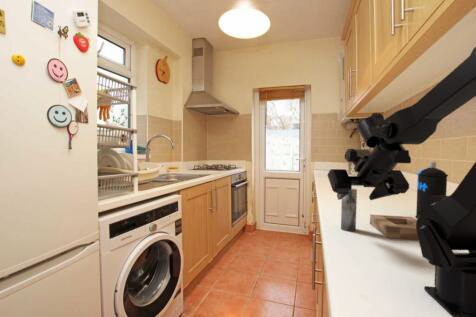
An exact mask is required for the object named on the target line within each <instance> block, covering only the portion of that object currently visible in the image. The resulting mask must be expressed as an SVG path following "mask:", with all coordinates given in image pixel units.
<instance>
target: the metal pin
mask: <svg viewBox="0 0 476 317" xmlns="http://www.w3.org/2000/svg"><path fill="white" fill-rule="evenodd" d="M357 194H358V189H357V188H352V189H351V190H350V191H349V194H348V195H346V196H345V197H343V198H342V199H341V208H340V209H341V210H340V211H341V212H340V216H341V217H340V229H341V230H342V231H345V232H350V233H351V232H352V233H353V232H356V230H357V202H358V199H357V198H358V195H357Z"/></svg>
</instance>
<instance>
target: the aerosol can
mask: <svg viewBox="0 0 476 317" xmlns="http://www.w3.org/2000/svg"><path fill="white" fill-rule="evenodd" d="M416 175H417V184H416V185H417V186H416V187H417V188H416V211H415V213H416V214H415V217H414V218H415V219H418V217H419V216H420V215H419V214H417V212H418V211H420V210H421V209H422V208H423V206H424V204H425V202H426V200H427V199H428V198H429V197H430V196H447V183H448V181H447V180H448V176H449V175H448V174H447V173H446V172H445V171H444V170H442V169H439V168H437V162H436V161H428V167H426V168H423V169H421V170H420V171H418V172H417V173H416Z"/></svg>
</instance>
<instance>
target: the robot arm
mask: <svg viewBox="0 0 476 317" xmlns="http://www.w3.org/2000/svg"><path fill="white" fill-rule="evenodd" d="M474 98H476V46H474V48H473V49H472V51H471V53H470V54H469V56H468V57H466V58H465V59H464V60H463V61H462V62H461V63H460V64H459V65H457V66H456V67H455V68H454V69H453V70H451V71H450V72H449V73H448V74H447V75H446V76H445V77H444V78H442V79H441V80H440V82H438V83H437V84H435V85H434V86H433V88H431V89H430V90H429V91H428V92H427V93H425V95H423V96H422V97H421V98H420V99H419V100H418V101H416V102H415V103H413V104H412V105H410V106H407V107H403V108H402V109H399V110H396V111H395V112H393V113H392V114H390V115H389V116H387V117H385V118H384V114H382V112H373V113H371V116H367V117H366V118H364V119H362V120H361V121H360V122H358V124H357V126H356V127H357V128H356V129H357V132H358V133H359V135H360V136H361V138H362V140H363V142H364V144H365V145H366V147H368V148H372V150H369V149H359V148H358V149H355V148H348V149H347V150H346V152H345V153H344V160H346V161H347V162H348V163H351V164H353V165H354V167H353V170H354V172H355V173H357V174H356V175H355V176H354V175H351V176H350V175H349V173H348V171H347V169H345V168H343V169H342V168H330V170H329V171H328V172H327V178H328V180H329V183H330V187H331V190H332V191H333V192H334V193H336V197H337V200H338V201H340V200H342V198H343V197H345V196H346V195H348V194H349V191H350V190H351V189H353V187H363V188H374V189H373V190H372V191H371V193H370V194H369V196H368V199H369V200H370V201H373V200H378V199H382V198H385V197H391V196H397V195H399V194H406V192H408V191H409V189H410V183H409V181H408V180H407V178H406V177H405V175H404V174H403V172H402V171H401V170H400V169H395V167H396V166H397V165H398V164H411V162H412V158H411V156H410V150H408V149H406V148H405V147H404V146H403V145H413V146H414V145H417V146H418V145H422V144H423V143H425V142H426V140H428V139H429V138H430V137H431V136H432V135H433V134H434V133H436V131H437V128H438V124H439V123H440V122H441V121H443V119H445V118H446V117H447V116H449V115H451V114H452V113H454V112H455V111H456V110H458V109H459V108H461V107H462V106H463V105H465V104H467V103H468V102H470V101H471V100H472V99H474ZM417 214H419V215H420V216H419V217H418V219H417V218H416V219H417V222H416V230H417V235H418V239H419V240H418V243H419V247H420V250H421V256H422V258H424V259H425V260H427V261H428V263H429V264H430V265H432V266H434V267H435V268H434V286H427V285H424V287H423V288H424V291H425V292H426V293H427V294H429V296H431V297H432V299H434V300H435V301H436V303H438V304H439V305H440V306H441V307H442V308H443V309H444V310H445V311H446V312H448V314H450V315H451V316H454V317H476V161H475V162H474V163H473V164H472V166H471V167H470V169H469V170H468V172H467V173H466V174H465V176H464V177H463V179H462V180H461V181H460V183H458V185H457V187H456V188H455V190H454V191H453V192H452V193H451V194H449V195H446V196H430V197H429V198H428V199H427V200H426V202H425V204H424V206H423V208H422V209H421V210H420V211H418V212H417ZM454 251H467V252H454Z"/></svg>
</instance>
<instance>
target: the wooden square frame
mask: <svg viewBox="0 0 476 317" xmlns="http://www.w3.org/2000/svg"><path fill="white" fill-rule="evenodd" d="M416 222H417V218H416V217H412V216H404V215H403V216H402V215H401V216H399V215H387V214H386V215H383V214H370V215H369V225H371V226H372V227H373V228H375V229H376V230H377V231H378V232H380V233H381V234H382V235H384V237H386V238H389V239H405V240H418V241H419V239H418V235H417V230H416Z"/></svg>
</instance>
